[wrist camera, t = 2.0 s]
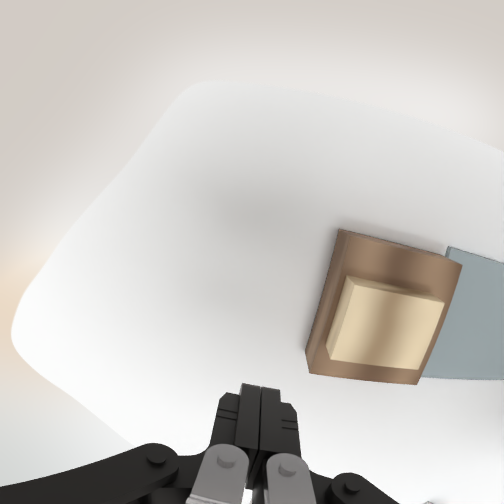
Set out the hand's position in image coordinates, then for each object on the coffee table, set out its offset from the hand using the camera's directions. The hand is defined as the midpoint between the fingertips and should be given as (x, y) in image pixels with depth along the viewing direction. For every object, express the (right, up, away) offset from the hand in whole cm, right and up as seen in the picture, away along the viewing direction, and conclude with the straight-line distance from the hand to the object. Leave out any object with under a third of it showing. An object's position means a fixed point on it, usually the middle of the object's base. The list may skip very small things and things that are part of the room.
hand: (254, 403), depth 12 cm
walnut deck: (+12, +1, +17) cm, 20 cm away
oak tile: (+10, +1, +13) cm, 16 cm away
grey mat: (+26, -2, +17) cm, 31 cm away
